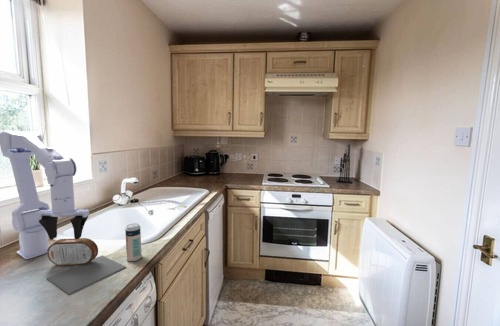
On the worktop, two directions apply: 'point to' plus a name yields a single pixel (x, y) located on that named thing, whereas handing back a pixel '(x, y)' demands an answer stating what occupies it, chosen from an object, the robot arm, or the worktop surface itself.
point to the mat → (85, 274)
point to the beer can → (133, 242)
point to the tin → (72, 251)
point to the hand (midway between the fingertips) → (65, 238)
